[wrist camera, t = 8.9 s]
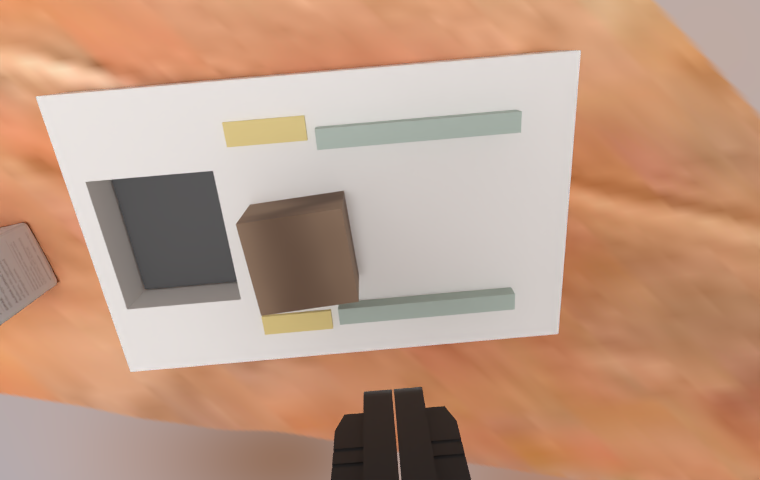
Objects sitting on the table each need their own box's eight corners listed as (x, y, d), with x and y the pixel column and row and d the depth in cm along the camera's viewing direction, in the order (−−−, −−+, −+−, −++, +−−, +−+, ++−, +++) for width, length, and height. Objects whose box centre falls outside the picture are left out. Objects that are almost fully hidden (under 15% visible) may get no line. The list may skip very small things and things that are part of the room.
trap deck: (560, 50, 24) (588, 50, 21) (543, 312, 31) (563, 341, 28) (66, 92, 24) (24, 98, 21) (148, 347, 30) (124, 380, 27)
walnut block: (343, 190, 24) (341, 208, 22) (358, 275, 26) (358, 301, 23) (249, 204, 24) (235, 224, 22) (271, 287, 26) (261, 315, 24)
